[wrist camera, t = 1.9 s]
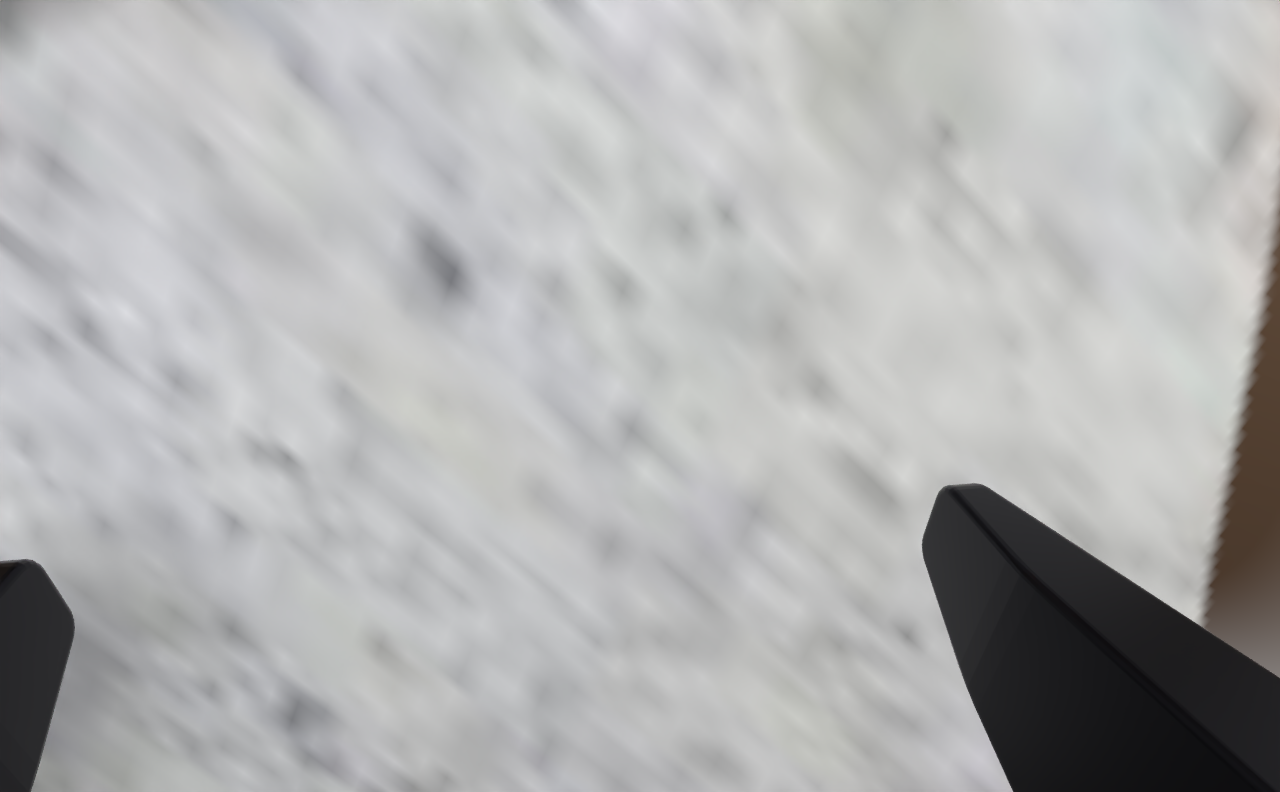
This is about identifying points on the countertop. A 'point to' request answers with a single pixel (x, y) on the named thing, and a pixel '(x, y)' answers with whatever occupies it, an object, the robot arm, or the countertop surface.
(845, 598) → the countertop surface
